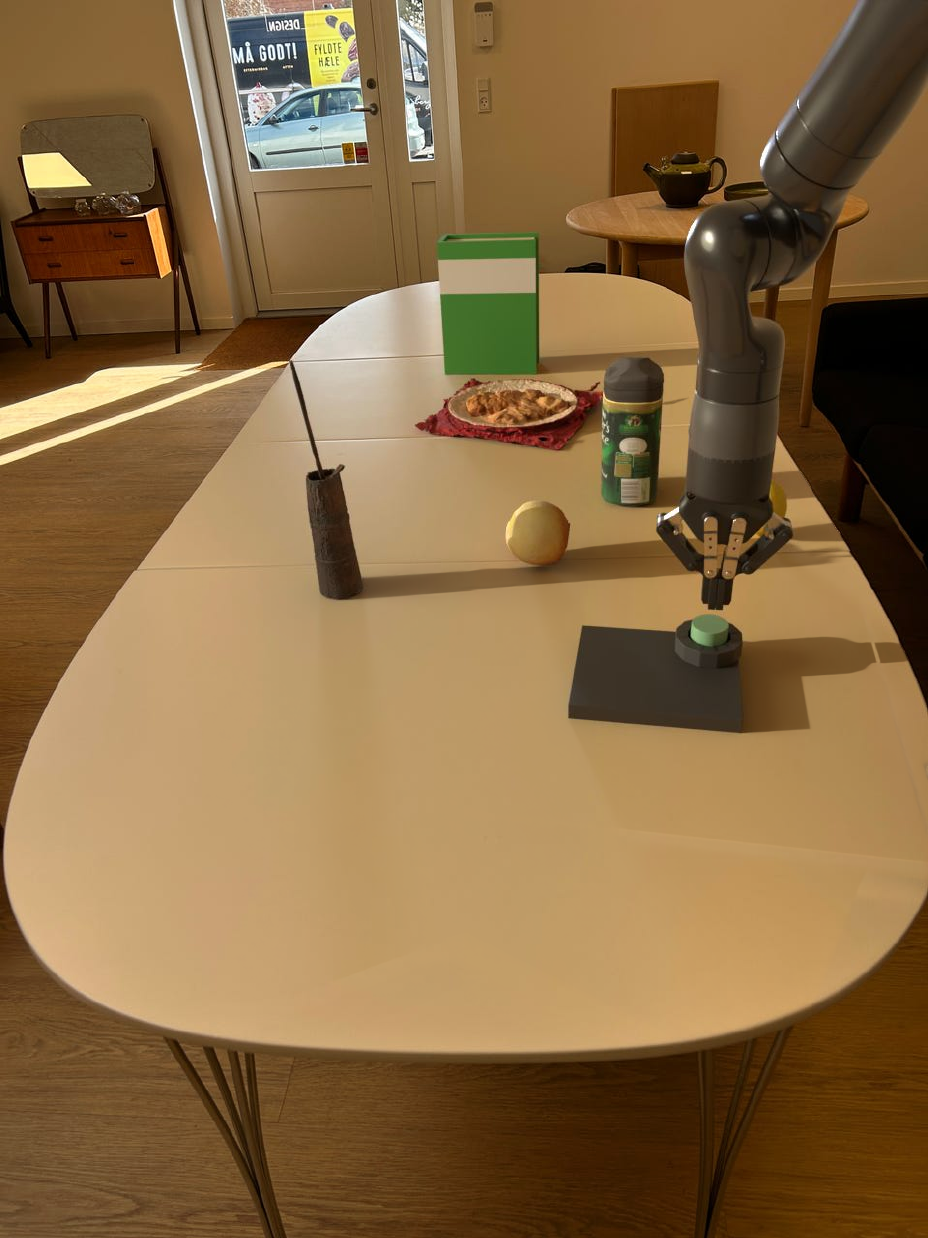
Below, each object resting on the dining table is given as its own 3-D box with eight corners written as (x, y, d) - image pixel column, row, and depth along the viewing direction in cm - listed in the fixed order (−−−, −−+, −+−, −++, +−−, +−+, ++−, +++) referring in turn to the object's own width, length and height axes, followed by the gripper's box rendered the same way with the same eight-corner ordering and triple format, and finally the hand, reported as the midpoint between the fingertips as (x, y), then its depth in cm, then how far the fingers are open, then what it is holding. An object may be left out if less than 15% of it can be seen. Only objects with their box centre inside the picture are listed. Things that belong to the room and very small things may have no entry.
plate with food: (472, 388, 173) (471, 369, 171) (606, 398, 162) (606, 379, 161) (413, 435, 155) (410, 415, 153) (558, 450, 145) (558, 429, 143)
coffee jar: (601, 479, 135) (605, 351, 125) (656, 480, 134) (665, 351, 124) (598, 508, 127) (602, 374, 117) (657, 510, 126) (666, 375, 116)
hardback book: (539, 362, 183) (538, 231, 170) (536, 374, 177) (535, 239, 164) (450, 362, 186) (443, 234, 173) (444, 374, 180) (436, 242, 167)
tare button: (726, 629, 95) (728, 615, 94) (727, 649, 92) (729, 634, 91) (690, 627, 96) (691, 612, 95) (690, 646, 93) (691, 632, 92)
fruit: (523, 542, 120) (522, 485, 116) (581, 557, 116) (582, 498, 112) (492, 568, 115) (490, 509, 110) (552, 584, 111) (552, 524, 106)
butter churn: (372, 559, 118) (346, 337, 103) (396, 594, 111) (372, 359, 96) (301, 576, 115) (264, 350, 100) (321, 612, 108) (284, 374, 93)
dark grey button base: (737, 647, 98) (741, 619, 96) (743, 734, 86) (748, 704, 84) (582, 636, 101) (582, 609, 99) (568, 718, 89) (568, 689, 87)
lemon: (766, 551, 115) (774, 491, 111) (728, 536, 119) (734, 478, 114) (790, 535, 118) (799, 477, 114) (752, 522, 122) (760, 465, 117)
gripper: (654, 454, 81) (645, 622, 91) (814, 459, 79) (788, 631, 88) (657, 423, 87) (649, 583, 97) (806, 426, 85) (782, 590, 94)
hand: (715, 605), depth 92 cm, fingers closed
